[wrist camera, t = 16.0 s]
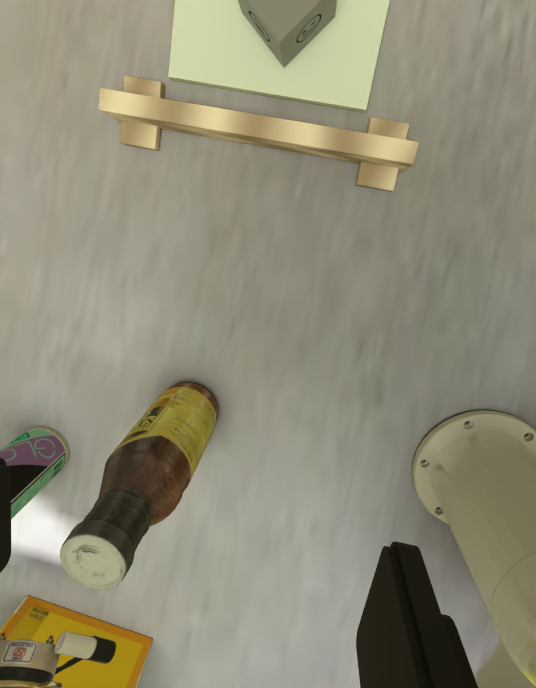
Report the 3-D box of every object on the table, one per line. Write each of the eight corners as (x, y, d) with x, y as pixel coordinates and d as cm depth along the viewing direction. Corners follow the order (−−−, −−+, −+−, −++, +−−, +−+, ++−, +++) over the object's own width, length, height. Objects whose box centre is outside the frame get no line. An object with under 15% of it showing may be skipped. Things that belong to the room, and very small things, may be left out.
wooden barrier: (412, 127, 34) (425, 115, 31) (396, 192, 36) (407, 189, 32) (123, 78, 35) (101, 61, 32) (119, 143, 37) (97, 134, 33)
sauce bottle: (175, 368, 42) (64, 489, 23) (231, 399, 42) (166, 543, 23) (148, 420, 44) (25, 571, 25) (202, 449, 44) (120, 620, 25)
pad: (400, -54, 31) (402, -61, 30) (365, 112, 34) (366, 109, 34) (186, -86, 32) (183, -93, 31) (171, 79, 35) (168, 76, 34)
